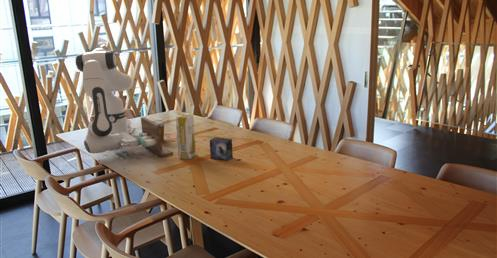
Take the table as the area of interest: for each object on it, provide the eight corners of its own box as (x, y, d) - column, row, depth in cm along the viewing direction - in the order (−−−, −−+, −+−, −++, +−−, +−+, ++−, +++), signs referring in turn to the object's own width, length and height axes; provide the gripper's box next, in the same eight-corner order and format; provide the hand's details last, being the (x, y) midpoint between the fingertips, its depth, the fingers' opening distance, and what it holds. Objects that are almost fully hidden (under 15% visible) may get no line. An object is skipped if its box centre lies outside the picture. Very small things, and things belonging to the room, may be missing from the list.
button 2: (144, 149, 224) (144, 141, 222) (141, 147, 227) (141, 139, 226) (158, 146, 228) (157, 138, 227) (155, 144, 231) (154, 136, 230)
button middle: (140, 145, 229) (139, 138, 228) (137, 144, 233) (136, 136, 231) (153, 143, 233) (152, 135, 232) (150, 141, 237) (149, 133, 236)
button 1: (142, 141, 237) (141, 134, 236) (139, 139, 240) (138, 132, 239) (155, 139, 241) (154, 131, 240) (152, 137, 244) (151, 130, 243)
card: (122, 159, 226) (122, 157, 226) (115, 153, 236) (115, 152, 236) (133, 156, 230) (133, 155, 229) (126, 151, 239) (125, 150, 239)
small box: (209, 158, 223) (208, 139, 220) (216, 155, 229) (215, 136, 226) (227, 161, 218) (226, 142, 215) (233, 157, 224) (232, 138, 221)
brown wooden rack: (159, 157, 227) (156, 125, 222) (143, 147, 245) (140, 117, 240) (173, 154, 231) (170, 123, 226) (156, 145, 250) (154, 115, 245)
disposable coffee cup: (168, 138, 262) (166, 120, 258) (163, 143, 252) (162, 124, 249) (153, 138, 263) (151, 120, 259) (148, 143, 253) (146, 124, 250)
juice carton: (191, 159, 222) (188, 115, 216) (177, 159, 224) (173, 115, 217) (197, 154, 231) (194, 111, 224) (183, 153, 232) (180, 111, 226)
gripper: (121, 140, 221) (146, 135, 229) (110, 132, 238) (133, 128, 245) (122, 151, 223) (147, 146, 231) (111, 142, 240) (134, 138, 247)
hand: (140, 137), depth 238 cm, fingers closed, pressing on button 1
